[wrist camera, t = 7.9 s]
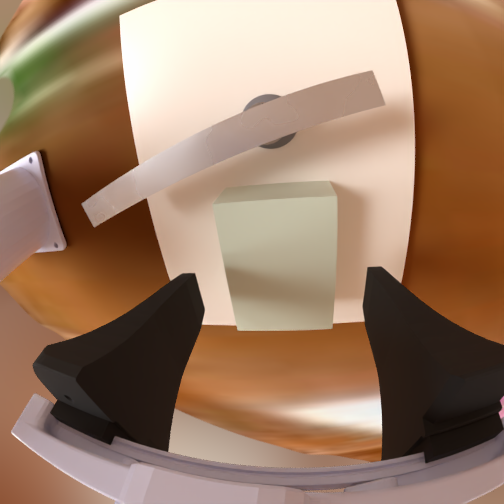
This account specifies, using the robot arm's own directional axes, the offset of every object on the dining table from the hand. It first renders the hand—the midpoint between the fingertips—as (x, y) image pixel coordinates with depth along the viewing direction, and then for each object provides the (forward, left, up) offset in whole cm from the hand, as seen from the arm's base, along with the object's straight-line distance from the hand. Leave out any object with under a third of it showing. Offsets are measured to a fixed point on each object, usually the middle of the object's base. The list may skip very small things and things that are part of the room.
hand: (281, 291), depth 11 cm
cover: (0, 0, -4) cm, 4 cm away
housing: (0, +5, -5) cm, 7 cm away
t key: (-2, +6, -4) cm, 7 cm away
